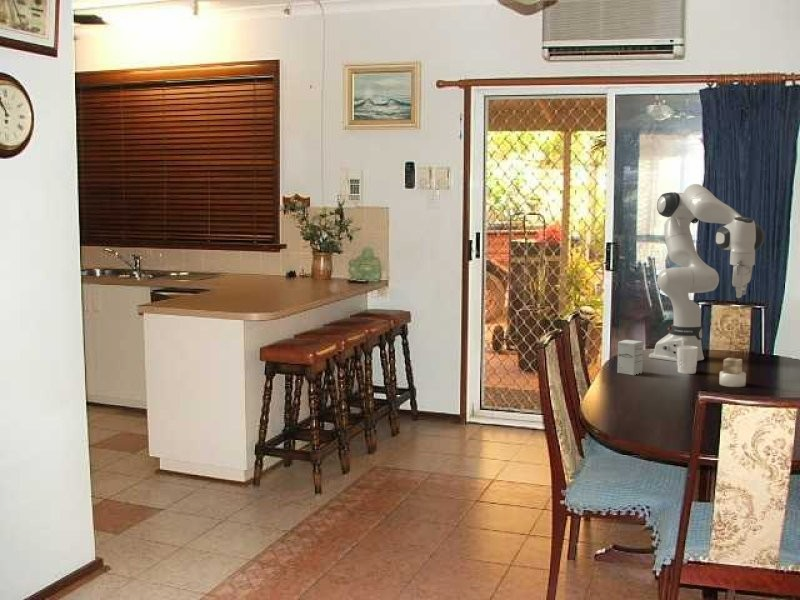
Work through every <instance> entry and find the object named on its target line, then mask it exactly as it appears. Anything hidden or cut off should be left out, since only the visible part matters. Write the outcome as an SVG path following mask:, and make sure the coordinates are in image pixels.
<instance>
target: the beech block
mask: <svg viewBox="0 0 800 600" xmlns="http://www.w3.org/2000/svg"><path fill="white" fill-rule="evenodd" d="M722 365H723V368H722V369H723V370H722V371H723V373H726V374H735V375H738V374H740V373H742V372H743V359H742V358H735V357H727V358H724V359H723V364H722Z"/></svg>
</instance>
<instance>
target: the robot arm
mask: <svg viewBox="0 0 800 600" xmlns="http://www.w3.org/2000/svg"><path fill="white" fill-rule="evenodd" d="M656 203H657V204H656V209H657V212H658V214H659V215H660V216H662V217H664V218H668V219H666V221H665V222H664V226H663V227H664V229H663V230H664V231H663V232H664V233H663V234H664V239H665V240H664V241H665V245H666V249H667V255H668V258H669V259H670V261H671V262H672V263H674V264H675V265H677V266H680V267H677V266H676V267H673V266H672V267H668V268H664V269H662V270H661V271H660V272H659V273H658V275H657V279H656V282H657V286H658V288H659V289H660V291H661V292H662V293H664V294H665V295H666V296H667V298H668V299H669V301H670V303H671V306H672V311H673V313H672V314H673V324H671V325H670V326H668V327H667V331H668V334H666V335H665V336H664V337H662V338H660V339H659V340H658V341H657V342H656V343H655V346H654V351H653V352H651V353H649V354H648V358H651V359H656V360H657V359H658V360H664V361H671V362H677V346H695V347H698V355H697V362H699V361H703V360H704V359H705V357H704V353H703V348H702V347H703V346H702V338H703V327H702V309H701V307H700V305H699V304H698V303H696V302H694V301H692V300H691V299H690V298H689V297H690V296H689V294H697V293H698V294H700V293H701V294H703V293H708V292H709V293H710V292H712V291H713V292H714V291H715V290H716V289H717V287H718V285H719V284H720V283H719V282H720V276H719V273H718V271H716V269H715V268H713V267H711V266H709V265H708V264H707V263H705V261H704V260H702V259H701V257H700V256H699V253H698V252H697V249H696V247H695V243H694V240H693V235H692V233H691V232H692V231H691V228H690V227H691V223H692V224H697V223H698V222H699V221H700V222H703V223H709V224H710V223H711V224H721V226H719V228H717V230H716V232H715V234H714V241H715V244H716V246H717V247H718V248H719V249H721V250H725V251H730V253H729V254H730V255H729V265H731V266H733V268H732V269H733V270H732V279H731V280H732V281H731V283H732V287H734V288H735V298H737V299H741V298H742V296H745V295H747V287H748V284H749V283H750V282H751V279H752V275H753V274H752V273H753V266H755V265H756V251H757V250H758V249H759V248H760V247H762V245H763V244H764V242H765V239H766V235H765V231H764V230H763V228H762V227H761V226H760V225H759V224H757V223H755V220H754V219H753V218H751V217H746V216H744V215H743V214H741V213H740V212H739V211H738V210H736V208H735V209H734V208H733V207H731V206H729V205H728V204H726V203H724V202H723V201H721V200H720V199H719V198H717V197H716V196H715V195H714V194H713V193H712V192H711V191H710V190H709V189H708V188H706V187H705V186H703V185H701V184H698V183H694V184H690V185H689V186H687V187H686V188H685V190H684V191H683V192H673V191H672V192H671V191H670V192H665V193H662V194H661V195H660V196H659V197H658V199H657V201H656Z"/></svg>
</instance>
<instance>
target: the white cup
mask: <svg viewBox="0 0 800 600" xmlns="http://www.w3.org/2000/svg"><path fill="white" fill-rule="evenodd" d="M697 355H698V347H695V346H677V361H676V365H677V373H679V374H684V375H690V374H691V375H693V374H696V372H697V367H698V366H697V364H698V361H697Z"/></svg>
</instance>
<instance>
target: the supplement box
mask: <svg viewBox="0 0 800 600" xmlns="http://www.w3.org/2000/svg"><path fill="white" fill-rule="evenodd" d="M643 356H644V341H641V340H640V341H639V340H632V339H623V340H621V341H618V342H617V374H623V375H629V376H630V375H631V376H636V374H637V375H639V373H640V374H642V373H643V364H644V360H643V358H644V357H643Z"/></svg>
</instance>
